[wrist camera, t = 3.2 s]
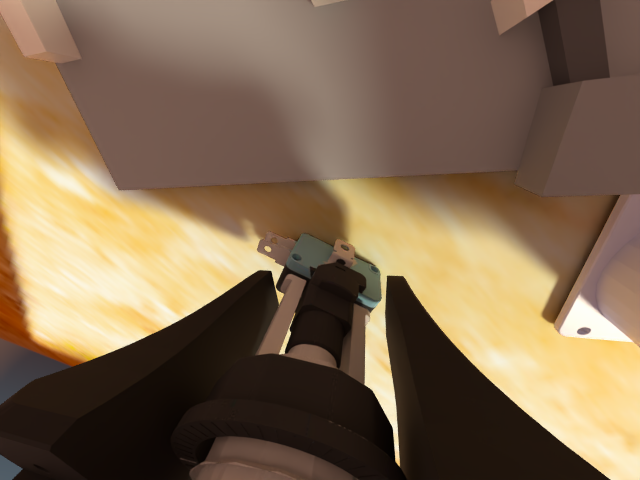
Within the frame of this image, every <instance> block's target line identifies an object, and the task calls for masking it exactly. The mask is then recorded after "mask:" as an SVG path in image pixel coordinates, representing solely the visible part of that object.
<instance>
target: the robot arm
mask: <svg viewBox="0 0 640 480" xmlns="http://www.w3.org/2000/svg"><path fill="white" fill-rule="evenodd" d="M278 306H279V303H278V298H277V294H276V290H275V285H274V281H273V277H272V272H271V271H263V270H259V271H257V272H255V273H254V274H252V275H251V276H249V277H248V278H246V279H245V280H243V281H242V282H240V283H239V284H237V285H236V286H234V287H233V288H231V289H230V290H228V291H227V292H225V293H224V294H222V295H221V296H219V297H218V298H216V299H215V300H213V301H211V302H210V303H208V304H207V305H205V306H203V307H202V308H200V309H199V310H197V311H195V312H194V313H192V314H190V315H188V316H187V317H185V318H183V319H181V320H179V321H178V322H176V323H174V324H172V325H170V326H168V327H166V328H164V329H162V330H160V331H158V332H156V333H154V334H151V335H149V336H147V337H145V338H143V339H141V340H139V341H136V342H134V343H132V344H130V345H127V346H125V347H123V348H120V349H118V350H115V351H113V352H111V353H108V354H105V355H103V356H100V357H98V358H95V359H93V360H90V361H87V362H85V363H82V364H79V365H76V366H73V367H71V368H68V369H65V370H62V371H59V372H56V373H53V374H50V375H47V376H44V377H41V378H38V379H35V380H34V381H32V382H30V383H29V384H27V385H26V386H25V387H23V388H22V389H21V390H19V391H18V392H17V393H15V394H14V395H13V396H11V397H10V398H9V399H7V400H6V401H5V402H4V403H2V404H1V405H0V455H2V456H4V457H5V458H7V459H8V460H10V461H11V462H13V463H15V464H16V465H18V466H19V467H21V468H23V470H21V472H20V473H19V474H17V476H16V477H14V479H12V480H192V479H191V477H190V475H189V473H190V470H189V469H188V468H187V467H185V465H184V464H183V463H182V462H181V461H180V460H179V459H178V458H177V456H176V455H175V453H174V451H173V449H172V447H171V436H172V433H173V431H174V430H175V428H176V427H177V425H178V423H179V422H180V420H181V419H182V417H183V415H184V414H185V413H186V411H187V410H189V409H190V408H191V407H193V406H195V405H197V404H200V403H203V402H205V401H206V399H207V397H208V395H209V394H210V392H211V390H212V389H213V387H214V385H215V383H216V382H217V381H218V380H219V379H220V378H221V377H222V376H223V374H224V373H225V372H226V371H227V370H228V369H229V368H230V367H231V366H232V365H233V364H234V363H235V362H236V361H237V360H238V359H240V358H242V357H247V356H254V355H256V353H257V351H258V349H259V347H260V345H261V342H262V340H263V338H264V336H265V334H266V332H267V330H268V328H269V326H270V324H271V321H272V319H273V317H274V315H275V313H276V311H277V309H278ZM385 318H386V337H387V344H388V351H389V358H390V364H391V371H392V377H393V384H394V391H395V399H396V408H397V423H398V438H399V455H400V468H401V469H402V471H403V473H404V474H405V476H406V478H407V480H610V479H609V478H608V477H606V476H605V475H604V474H602V473H601V472H600V471H598V470H597V469H596V468H594V467H593V466H592V465H591V464H589V463H588V462H587V461H585V460H584V459H583V458H581V457H580V456H579V455H577V454H576V453H575V452H574V451H572V450H571V449H570V448H568V447H567V446H566V445H564V444H563V443H562V442H561V441H559V440H558V439H557V438H556V437H555V436H553V435H552V434H551V433H550V432H548V431H547V430H546V429H545V428H544V427H542V426H541V425H540V424H539V423H538V422H536V421H535V420H534V419H533V418H532V417H530V416H529V415H528V414H527V413H526V412H524V411H523V410H522V409H521V408H520V407H519V406H518V405H517V404H515V403H514V402H513V401H512V400H511V399H510V398H509V397H508V396H506V395H505V394H504V393H503V392H502V391H501V390H500V389H499V388H498V387H496V386H495V385H494V384H493V383H492V382H491V381H490V380H489V379H488V378H487V377H486V376H485V375H483V374H482V373H481V372H480V371H479V370H478V369H477V368H476V367H475V366H474V365H473V364H472V363H471V362H470V361H469V360H468V359H467V358H466V357H465V356H464V354H463V353H462V352H461V351H460V350H459V349H458V348H457V347H456V346H455V345H454V344H453V343H452V342H451V340H450V339H449V338H448V337H447V336H446V335H445V333H444V332H443V331H442V330H441V329H440V328H439V326H438V325H437V324H436V323H435V321H434V320H433V319H432V318H431V316H430V315H429V314H428V312H427V311H426V310H425V308H424V307H423V306H422V304H421V303H420V301H419V300H418V299H417V297H416V296H415V294H414V293H413V291H412V289H411V288H410V286H409V285H408V283H407V281H406V279H405V278H404V277H403V276H387V288H386V308H385ZM554 328H555V329H556V330H557V332H558V333H559V334H561V335H563V336H568V337H580V338H591V339H603V340H615V341H627V342H634V343H635V344H637V345H638V346H639V347H640V194H629V195H620V197H619V199H618V201H617V203H616V205H615V207H614V209H613V210H612V212H611V214H610V216H609V218H608V220H607V222H606V224H605V226H604V228H603V230H602V232H601V234H600V236H599V238H598V240H597V242H596V244H595V245H594V247H593V249H592V251H591V253H590V255H589V257H588V259H587V261H586V263H585V265H584V267H583V269H582V271H581V273H580V275H579V277H578V279H577V280H576V282H575V284H574V286H573V288H572V290H571V292H570V294H569V296H568V298H567V300H566V302H565V304H564V306H563V308H562V310H561V312H560V313H559V315H558V317H557V319H556V321H555V323H554Z"/></svg>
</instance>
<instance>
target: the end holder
mask: <svg viewBox="0 0 640 480" xmlns="http://www.w3.org/2000/svg"><path fill="white" fill-rule="evenodd" d="M311 1H312V3H313V5H314V7H318V6H322V5H327V4H331V3H336V2H340V1H345V0H311ZM0 13H1V15H2V17H3V19H4V21H5V23H6V24H7V26H8V28H9V30H10V32H11V34H12V35H13V37H14V39H15V41H16V43H17V45H18V46H19V48H20V50H21V52H22V54H23V56H24V57H28V58H33V59H39V60H44V61H50V62H55V63H66V62H70V61H75V60H79V59H82V58H81V55H80V53H79V51H78V49H77V46H76V44H75V42H74V40H73V38H72V35H71V33H70V31H69V29H68V27H67V24H66V22H65V20H64V18H63V16H62V13H61V11H60V9H59V7H58V5H57V2H56V0H0Z"/></svg>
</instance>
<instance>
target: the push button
mask: <svg viewBox="0 0 640 480" xmlns="http://www.w3.org/2000/svg"><path fill="white" fill-rule="evenodd" d="M273 237H274V238H276V239H277V240H278V243H276V244H275V243H273V242H272V241H271V238H273ZM341 245H343V246H345V247H347V248H348V249H349V251H346V250H344V249H342V248H341ZM265 246H269V247H270V248H271V250H272V251H271V252H267V251H265V249H264V247H265ZM257 251H258V252H260V253H262V254H264V255H266V256H268V257H270V258H273V259H275V260H276V261H275V262H276V263H278V264H280V265H282V266H284V269H283V271H282V273H281V275H280V278H279V280H278V282H277V284H276V288H277V290H278V291H280V292H282V293H284V296H283V298H282V300H281V302H280V305H279V307H278V309H277V311H276V313H275V315H274V317H273V319H272V321H271V324H270V326H269V328H268V330H267V332H266V334H265V336H264V338H263V340H262V342H261V345H260V347H259V349H258V351H257V353H256V355H254V356H247V357H242V358H240V359H238V360H237V361H236V362H235V363H234V364H233V365H232V366H231V367H230V368H229V369H228V370H227V371H226V372H225V373H224V374H223V376H222V377H221V378H220V379H219V380H218V381H217V382H216V383H215V385H214V387H213V389H212V390H211V392H210V394H209V395H208V397H207V399H206V401H205V402H203V403H200V404H197V405H195V406H193V407H191V408H190V409H189V410H187V411H186V413H185V414H184V415H183V417H182V419H181V420H180V422H179V423H178V425H177V427H176V428H175V430H174V431H173V433H172V436H171V447H172V449H173V451H174V453H175V455H176V456H177V458H178V459H179V460H180V461H181V462H182V463H183V464H184V465H185V467H187V468H188V469H189V470H190V473H189V475H190V477H191V479H192V480H407V478H406V476H405V474H404V473H403V471H402V469H401V468H400V467H399V466H398V464H397V463H396V462H395V450H394V437H393V428H392V426H391V424H390V422H389V420H388V418H387V417H386V415H385V413H384V411H383V409H382V407H381V405H380V404H379V402H378V400H377V398H376V396H375V394H374V393H373V391H372V390H371V389H370V388H368V387H367V386H365V385H364V383H365V326H366V324H367V323H368V322H369V321H370V313H371V311H372V310H373V309H374V308H375V307H376V306H377V304H378V303H379V302H380V301H381V298H382V297H381V283H380V271H379V269H378V268H377V267H375V266H374V265H372V264H370V263H369V264H368V263H366V262H364V261H362V260H360V259H358V258H356V257H354V254H355V248H354V247H353V246H352V245H350V244H348V243H346V242H344V241H342V240H340V239H336V241H335V245H334V247H333V246H331V245H329V244H327V243H325V242H323V241H321V240H319V239H317V238H314V237H312V236H310V235H308V234H301V236H300V238H299V239H298V241H295V240H293V239H291V238H289V237H287V239H285V238H283V237H281V236H279V235H277V234H275V233H273V232H271V231H268V232H267V234H266V237H265V240H264V239H261V240H260V242H259V245H258V248H257ZM294 313H295V316H294V318H293V315H294ZM292 318H293V321H292ZM291 321H292V324H291V326H290V323H291ZM289 326H290V331H291V335H290V338H289V341H288V344H287V346H286V349H285V354H280V355H279V352H280V350H281V347H282V344H283V342H284V339H285V336H286V334H287V331H288V328H289Z"/></svg>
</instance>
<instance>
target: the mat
mask: <svg viewBox="0 0 640 480" xmlns="http://www.w3.org/2000/svg"><path fill="white" fill-rule="evenodd" d="M491 1H492V0H345V1H340V2H336V3H331V4H327V5H322V6H318V7H314V5H313V3H312V1H311V0H56V2H57V5H58V7H59V9H60V11H61V13H62V16H63V18H64V20H65V22H66V24H67V27H68V29H69V31H70V33H71V35H72V38H73V40H74V42H75V44H76V46H77V49H78V51H79V53H80V55H81V58H82V59H79V60H75V61H70V62H66V63H56V65H57V67H58V69H59V71H60V73H61V75H62V77H63V79H64V81H65V83H66V85H67V87H68V89H69V91H70V93H71V95H72V97H73V99H74V101H75V103H76V105H77V107H78V109H79V111H80V113H81V115H82V117H83V119H84V121H85V123H86V125H87V127H88V129H89V131H90V133H91V135H92V137H93V139H94V141H95V143H96V145H97V147H98V149H99V151H100V153H101V155H102V157H103V159H104V161H105V163H106V165H107V167H108V169H109V172H110V174H111V176H112V178H113V180H114V182H115V184H116V186H117V188H118V190H135V189H155V188H175V187H195V186H215V185H235V184H255V183H275V182H295V181H315V180H335V179H355V178H375V177H396V176H416V175H436V174H456V173H476V172H496V171H516V170H518V168H519V165H520V162H521V158H522V155H523V151H524V148H525V144H526V141H527V138H528V134H529V131H530V127H531V124H532V120H533V117H534V114H535V110H536V107H537V103H538V100H539V96H540V93H541V90H542V88H546V87H552V86H553V82H552V77H551V72H550V68H549V63H548V58H547V53H546V48H545V43H544V38H543V34H542V29H541V24H540V19H539V14H538V10H537V11H536V12H534V13H533V14H531V15H530V16H528V17H527V18H525V19H524V20H522V21H521V22H519V23H518V24H516V25H515V26H513V27H511V28H510V29H508V30H507V31H505V32H504V33H502V34H501V35H499V33H498V29H497V25H496V21H495V17H494V13H493V10H492V6H491ZM600 3H601V11H602V19H603V27H604V34H605V42H606V50H607V58H608V65H609V73H610V78H611V77H620V76H628V75H637V74H640V0H600Z"/></svg>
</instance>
